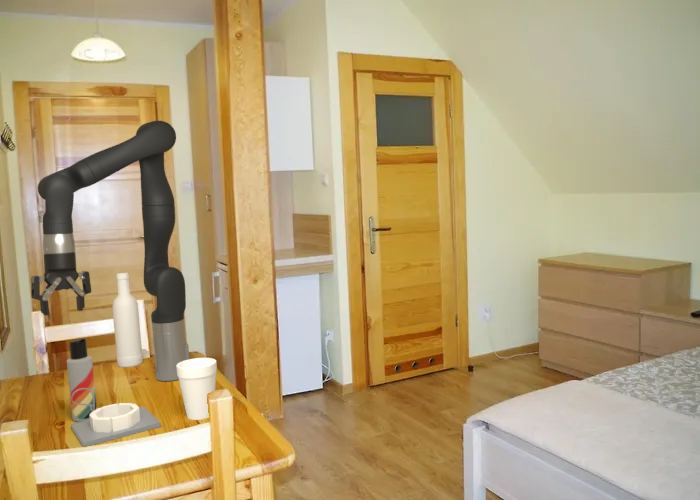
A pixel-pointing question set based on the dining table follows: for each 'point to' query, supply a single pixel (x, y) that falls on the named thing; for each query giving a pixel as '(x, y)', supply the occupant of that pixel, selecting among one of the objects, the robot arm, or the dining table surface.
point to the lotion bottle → (81, 381)
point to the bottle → (126, 325)
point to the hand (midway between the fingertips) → (63, 312)
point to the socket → (114, 423)
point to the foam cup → (197, 385)
